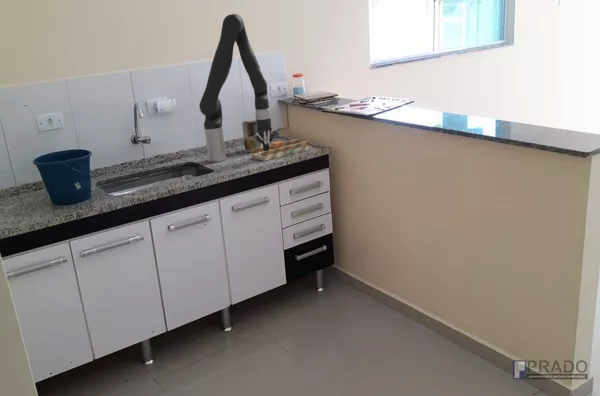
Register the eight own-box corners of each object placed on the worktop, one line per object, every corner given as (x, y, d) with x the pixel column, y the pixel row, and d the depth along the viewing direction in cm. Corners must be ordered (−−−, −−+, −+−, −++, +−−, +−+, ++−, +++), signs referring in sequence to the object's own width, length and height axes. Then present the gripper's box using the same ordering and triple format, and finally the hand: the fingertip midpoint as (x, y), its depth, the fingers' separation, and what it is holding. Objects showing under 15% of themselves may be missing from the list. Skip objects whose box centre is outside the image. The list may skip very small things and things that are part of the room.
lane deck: (263, 161, 279) (262, 152, 278) (252, 157, 288) (251, 149, 286) (310, 149, 296) (309, 141, 294) (298, 146, 304) (297, 138, 303)
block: (276, 151, 286) (276, 143, 285) (271, 150, 290) (270, 142, 289) (284, 149, 289) (284, 142, 288) (279, 148, 293) (278, 140, 292)
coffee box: (263, 148, 307) (260, 119, 302) (261, 151, 301) (258, 122, 296) (247, 149, 308) (244, 120, 303) (244, 152, 302) (241, 123, 297)
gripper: (256, 120, 273) (259, 154, 279) (277, 116, 281) (281, 149, 286) (248, 119, 279) (251, 152, 285) (269, 114, 286) (272, 147, 292)
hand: (266, 150), depth 285 cm, fingers closed
